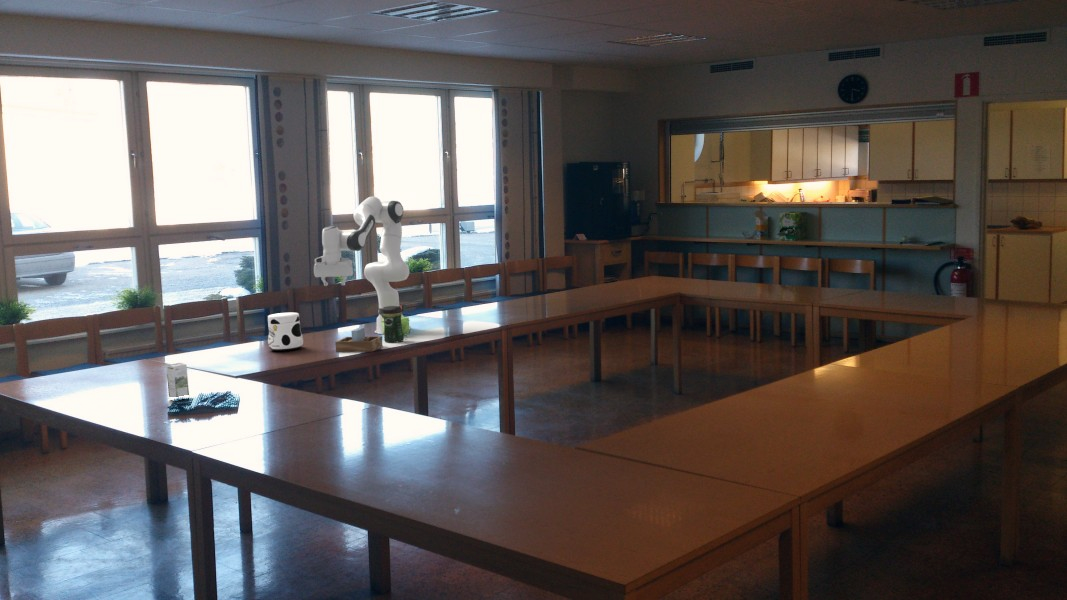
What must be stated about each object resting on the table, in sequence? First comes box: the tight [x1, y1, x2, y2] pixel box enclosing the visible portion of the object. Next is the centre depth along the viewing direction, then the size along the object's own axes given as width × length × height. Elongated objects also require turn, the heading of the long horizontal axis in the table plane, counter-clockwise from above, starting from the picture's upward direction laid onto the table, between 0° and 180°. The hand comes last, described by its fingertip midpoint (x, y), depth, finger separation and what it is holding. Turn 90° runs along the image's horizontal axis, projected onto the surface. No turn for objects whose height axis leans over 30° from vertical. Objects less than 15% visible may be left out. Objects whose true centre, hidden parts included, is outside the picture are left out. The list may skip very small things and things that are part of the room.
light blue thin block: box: [351, 327, 366, 341], centre depth 474 cm, size 10×3×9 cm, turn 168°
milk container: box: [267, 312, 304, 352], centre depth 482 cm, size 17×17×18 cm
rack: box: [334, 335, 383, 353], centre depth 474 cm, size 14×19×5 cm
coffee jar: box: [382, 305, 405, 343], centre depth 490 cm, size 10×8×19 cm
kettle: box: [382, 316, 411, 337], centre depth 507 cm, size 15×14×11 cm
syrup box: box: [165, 362, 190, 398], centre depth 379 cm, size 6×6×14 cm
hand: (334, 285), depth 483 cm, fingers open, 8 cm apart
